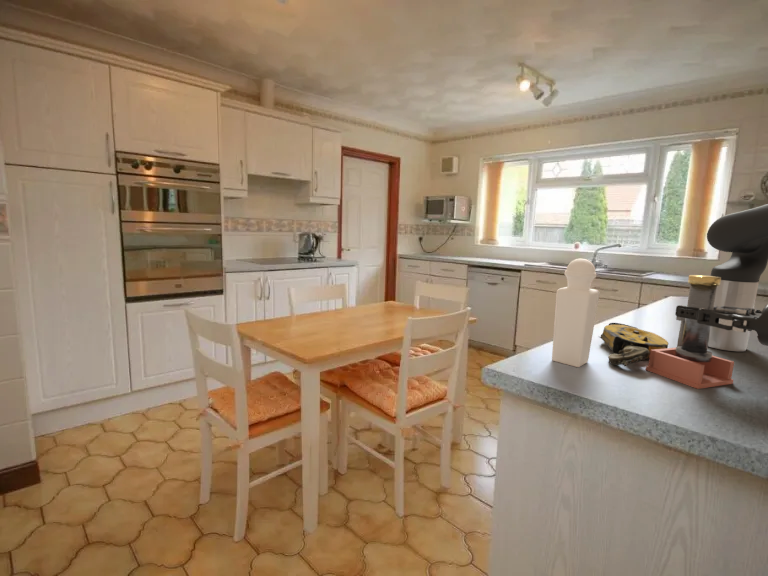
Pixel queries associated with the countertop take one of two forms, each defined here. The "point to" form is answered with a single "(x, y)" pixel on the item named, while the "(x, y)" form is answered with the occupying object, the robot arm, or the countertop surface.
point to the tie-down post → (694, 332)
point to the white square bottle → (575, 314)
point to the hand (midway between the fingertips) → (683, 309)
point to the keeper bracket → (690, 367)
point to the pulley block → (630, 343)
